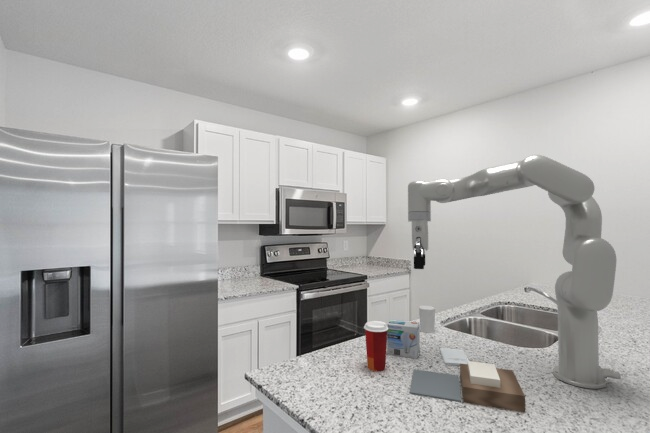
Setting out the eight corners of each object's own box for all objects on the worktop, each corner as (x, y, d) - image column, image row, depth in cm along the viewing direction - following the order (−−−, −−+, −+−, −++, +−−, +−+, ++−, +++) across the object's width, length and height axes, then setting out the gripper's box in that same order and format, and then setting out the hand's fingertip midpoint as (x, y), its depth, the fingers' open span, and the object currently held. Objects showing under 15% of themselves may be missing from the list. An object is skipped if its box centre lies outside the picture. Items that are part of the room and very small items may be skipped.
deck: (512, 384, 95) (512, 370, 95) (525, 412, 80) (525, 396, 80) (460, 376, 99) (459, 363, 99) (463, 402, 85) (463, 386, 85)
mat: (458, 376, 99) (458, 375, 99) (461, 402, 85) (461, 400, 85) (413, 370, 104) (413, 369, 104) (409, 393, 90) (409, 392, 90)
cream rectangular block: (494, 371, 94) (494, 364, 94) (500, 387, 84) (500, 380, 85) (467, 367, 96) (467, 360, 96) (470, 383, 87) (470, 375, 87)
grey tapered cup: (437, 333, 138) (437, 309, 138) (421, 333, 138) (421, 309, 138) (432, 328, 145) (432, 305, 145) (417, 328, 145) (417, 305, 145)
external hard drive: (463, 354, 118) (471, 369, 106) (439, 352, 120) (445, 367, 107) (463, 349, 118) (471, 364, 106) (439, 347, 120) (445, 361, 107)
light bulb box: (386, 354, 116) (386, 323, 117) (390, 348, 123) (390, 318, 123) (418, 359, 112) (417, 327, 113) (420, 352, 119) (419, 321, 119)
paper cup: (391, 365, 107) (390, 322, 108) (385, 375, 100) (384, 328, 101) (368, 361, 111) (367, 319, 111) (360, 370, 104) (360, 325, 104)
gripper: (429, 216, 104) (430, 271, 104) (431, 217, 121) (431, 264, 120) (405, 216, 107) (406, 270, 106) (410, 217, 123) (410, 263, 123)
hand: (419, 267), depth 113 cm, fingers open, 9 cm apart
